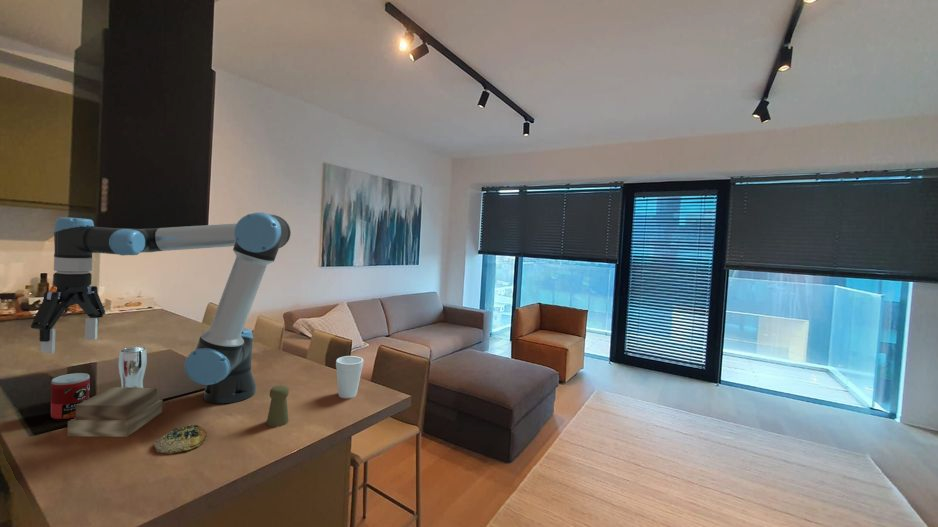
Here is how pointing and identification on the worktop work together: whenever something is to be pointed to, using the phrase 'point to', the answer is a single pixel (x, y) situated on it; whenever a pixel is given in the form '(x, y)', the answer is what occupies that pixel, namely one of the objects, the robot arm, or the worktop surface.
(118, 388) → the stack of wooden planks
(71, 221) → the robot arm
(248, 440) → the worktop surface
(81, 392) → the canned food
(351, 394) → the foam cup
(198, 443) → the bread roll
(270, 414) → the green pawn
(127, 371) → the beer glass
